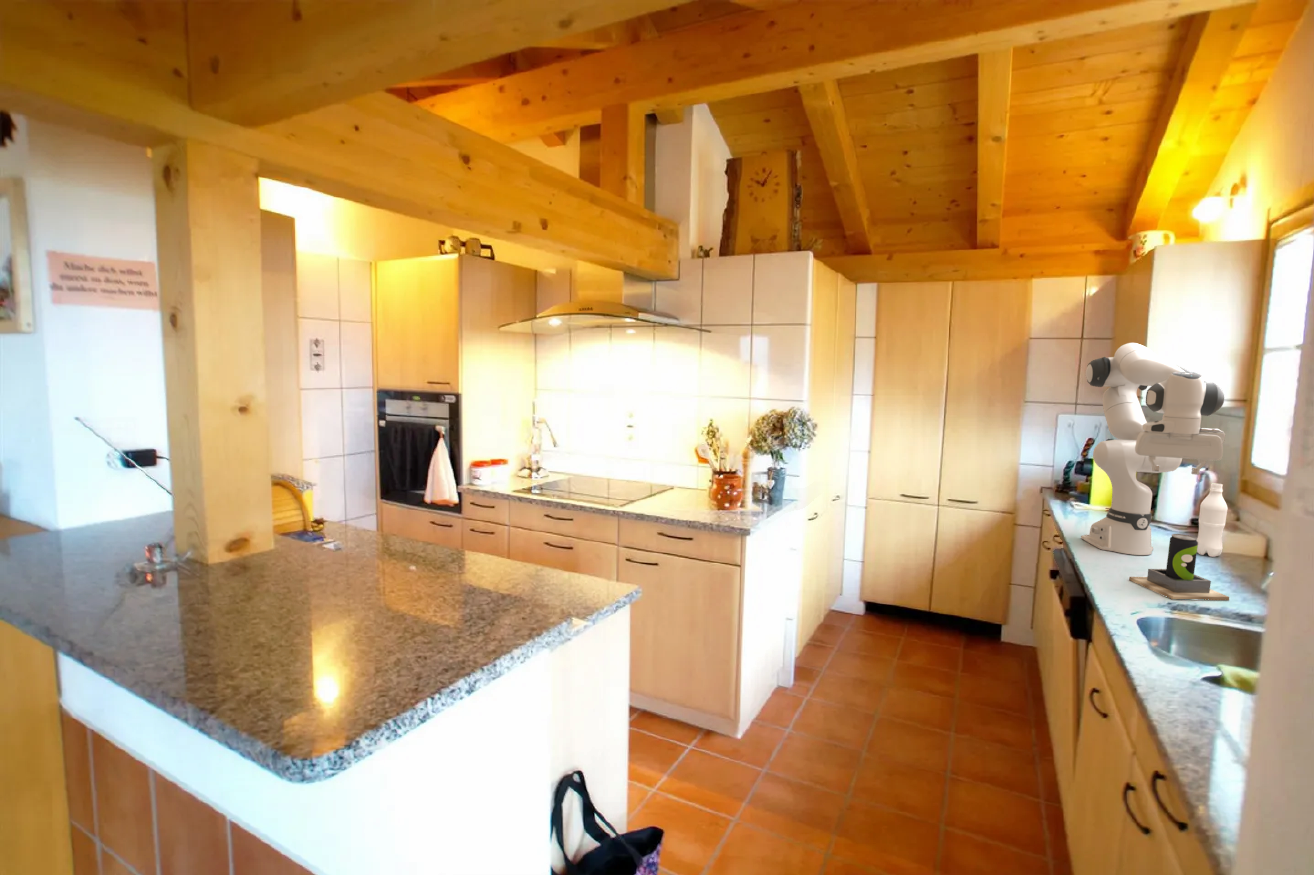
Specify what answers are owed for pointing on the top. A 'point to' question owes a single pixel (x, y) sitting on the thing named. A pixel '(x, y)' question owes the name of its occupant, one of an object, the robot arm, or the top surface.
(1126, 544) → the robot arm
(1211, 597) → the docking plate
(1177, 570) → the beverage can
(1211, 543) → the water bottle
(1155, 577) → the gray open box
